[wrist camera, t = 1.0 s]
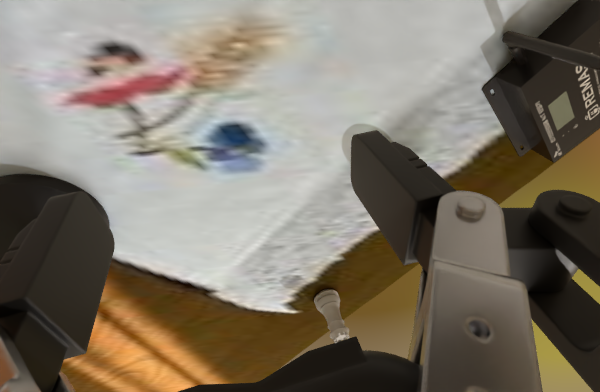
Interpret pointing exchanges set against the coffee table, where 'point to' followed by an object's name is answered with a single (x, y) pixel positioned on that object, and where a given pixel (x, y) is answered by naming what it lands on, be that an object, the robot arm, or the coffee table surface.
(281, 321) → the coffee table surface
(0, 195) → the holder
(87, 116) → the coffee table surface
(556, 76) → the black wireless router
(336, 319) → the rook chess piece
